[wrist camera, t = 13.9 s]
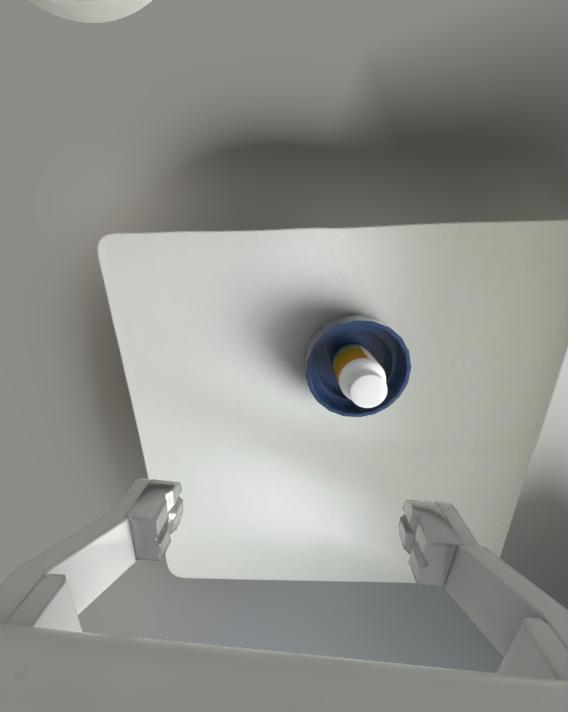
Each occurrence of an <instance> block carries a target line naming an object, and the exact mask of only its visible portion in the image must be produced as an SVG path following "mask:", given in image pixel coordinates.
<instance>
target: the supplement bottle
mask: <svg viewBox="0 0 568 712" xmlns="http://www.w3.org/2000/svg"><path fill="white" fill-rule="evenodd" d="M333 368H334V371H335V374H336V377H337V380H338V383H339V386H340V388H341V390H342V392H343V394H344V395H345V396H346V397H347V398H349V399H350V400H352V401H353V402H354V403H355V404H356V405H358V406H360V407H363V408H372V407H375V406H377V405H379V404H380V403H382V402H383V400H384V399H385V397H386V395H387V385H386V375H385V372H384V370H383V368H382V367H381V365H380V364H379V363H378V362H377V361H376V359H375V358H374V357H373V356H372V355H371V353H370V352H369V351H368V350H367V349H366V348H365V347H363V346H361V345H357V344H349V345H346V346H344V347H342V348H340V349H339V350H338V351H337V352H336V354H335V356H334V359H333Z"/></svg>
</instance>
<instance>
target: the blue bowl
mask: <svg viewBox="0 0 568 712" xmlns="http://www.w3.org/2000/svg"><path fill="white" fill-rule="evenodd" d="M349 344H357V345H361V346H363V347H365V348H366V349H367V350H368V351H369V352H370V353H371V355H372V356H373V357H374V358H375V359H376V361H377V362H378V363H379V364H380V365H381V367H382V368H383V370H384V372H385V375H386V385H387V395H386V397H385V399H384V400H383V402H382V403H380V404H379V405H377V406H375V407H372V408H363V407H360V406H358V405H356V404H355V403H354V402H353V401H352V400H350V399H349V398H347V397H346V396H345V395H344V394H343V392H342V390H341V388H340V386H339V383H338V380H337V377H336V374H335V371H334V368H333V359H334V356H335V354H336V352H337V351H338V350H339V349H340V348H342V347H344V346H346V345H349ZM305 368H306V378H307V382H308V385H309V389H310V391H311V393H312V394H313V395H314V397H315V398H316V400H317V401H318V402H319V403H320V404H321V405H323V406H324V407H325V408H327V409H328V410H329V411H331V412H334V413H337V414H340V415H342V416H351V417H362V416H367V415H371V414H375V413H377V412H379V411H381V410H383V409H385V408H387V407H389V406H390V405H391V404H392V403H393V402H394V401H395V400H396V399H397V398H399V397H400V395H401V394H402V392H403V390H404V389H405V387H406V385H407V383H408V381H409V376H410V371H411V361H410V354H409V350H408V349H407V347H406V345H405V343H404V341H403V340H402V338H401V337H400V336H399V335H398V334H396V333H395V332H394V331H393V330H392V329H391V328H389V327H388V326H386V325H385V324H383V323H382V322H380V321H378V320H376V319H373V318H370V317H368V316H360V315H349V316H345V317H341V318H337V319H334V320H333V321H331V322H329V323H328V324H326V325H325V326H323V327H322V328H321V329H320V330H319V331H318V332H317V333H316V335H315V336H314V337H313V338H312V340H311V342H310V344H309V347H308V349H307V351H306V363H305Z"/></svg>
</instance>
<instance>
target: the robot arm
mask: <svg viewBox="0 0 568 712" xmlns="http://www.w3.org/2000/svg"><path fill="white" fill-rule="evenodd" d="M181 491H182V489H181V483H179V482H172V481H162V480H149V479H138V480H136V481H135V482H134V483H133V485H132V486H131V487H130V489H129V490H128V491H127V493H126V494H125V495H124V496H123V498H122V499H121V500H120V501H119V503H118V504H117V505H116V507H115V508H114V509H113V510H112V512H111V513H110V514H109V516H103V517H101V518H99V519H98V520H97V521H94V522H93V523H91V524H89V525H88V526H86V527H84V528H83V529H82V530H79V531H78V532H76V533H74V534H73V535H71V536H69V537H68V538H66V539H64V540H63V541H61V542H59V543H58V544H56V545H55V546H53V547H51V548H49V549H48V550H46V551H44V552H43V553H41V554H39V555H38V556H36V557H34V558H33V559H31V560H29V561H28V562H26V563H25V564H23V565H21V566H19V567H18V568H16V569H15V570H14V571H13V572H12V573H11V574H10V575H9V576H8V577H7V579H6V580H5V581H4V582H3V583H2V584H1V585H0V712H568V610H567V609H565V608H564V607H563V606H562V605H560V604H559V603H558V602H556V601H555V600H554V599H552V598H551V597H550V596H548V595H547V594H546V593H545V592H543V591H542V590H541V589H539V588H538V587H537V586H535V585H534V584H533V583H531V582H530V581H529V580H527V579H526V578H525V577H524V576H522V575H521V574H519V573H518V572H517V571H516V570H514V569H513V568H511V567H510V566H509V565H508V564H506V563H505V562H504V561H503V560H501V559H500V558H499V557H497V556H496V555H495V554H493V553H492V552H491V551H489V550H488V549H487V548H485V547H480V545H479V544H478V542H477V541H476V539H475V538H474V536H473V534H472V533H471V531H470V530H469V528H468V527H467V525H466V524H465V522H464V521H463V519H462V518H461V516H460V515H459V513H458V512H457V510H456V509H455V507H454V506H453V505H452V504H451V503H450V502H433V501H419V500H405V502H404V504H403V510H404V513H405V514H404V515H403V516H402V517H400V521H399V535H400V539H401V543H402V546H403V548H404V549H405V550H406V551H407V552H408V553H409V554H410V558H409V564H410V567H411V570H412V572H413V575H414V578H415V580H416V583H417V584H423V585H431V586H439V587H444V589H445V590H446V591H447V592H448V594H449V595H450V596H451V597H452V598H453V599H454V600H455V602H456V603H457V604H458V605H459V606H460V607H461V608H462V609H463V611H464V612H465V613H466V614H467V615H468V617H469V618H470V619H471V620H472V621H473V622H474V623H475V625H476V626H477V627H478V628H479V629H480V630H481V631H482V633H483V634H484V635H485V636H486V637H487V638H488V639H489V640H490V642H491V643H492V644H493V645H494V646H495V647H496V648H497V650H498V651H499V652H500V653H501V654H502V655H503V657H504V659H503V662H502V663H501V665H500V667H499V669H498V672H497V673H488V672H478V671H467V670H458V669H448V668H438V667H428V666H418V665H408V664H398V663H388V662H377V661H368V660H358V659H348V658H338V657H327V656H317V655H307V654H298V653H288V652H287V653H286V652H277V651H266V650H257V649H247V648H237V647H227V646H217V645H207V644H197V643H187V642H176V641H166V640H156V639H146V638H136V637H125V636H116V635H106V634H96V633H86V632H82V628H81V625H80V622H79V619H78V614H79V613H80V612H81V611H82V610H84V609H85V608H86V607H87V606H88V605H89V604H90V603H91V602H92V601H93V600H94V599H95V598H97V597H98V596H99V595H100V594H101V593H102V592H103V591H104V590H105V589H106V588H107V587H109V586H110V585H111V584H112V583H113V582H114V581H115V580H116V579H117V578H118V577H119V576H121V574H123V573H124V572H125V571H126V570H127V569H128V568H129V567H130V566H131V565H132V564H134V562H136V560H151V561H161V560H162V559H163V557H164V555H165V553H166V550H167V548H168V546H169V544H170V542H171V539H170V534H171V533H172V532H174V531H175V530H176V529H177V527H178V525H179V523H180V520H181V516H182V512H183V500H182V499H181V498H180V497H179V495H180V493H181Z"/></svg>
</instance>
